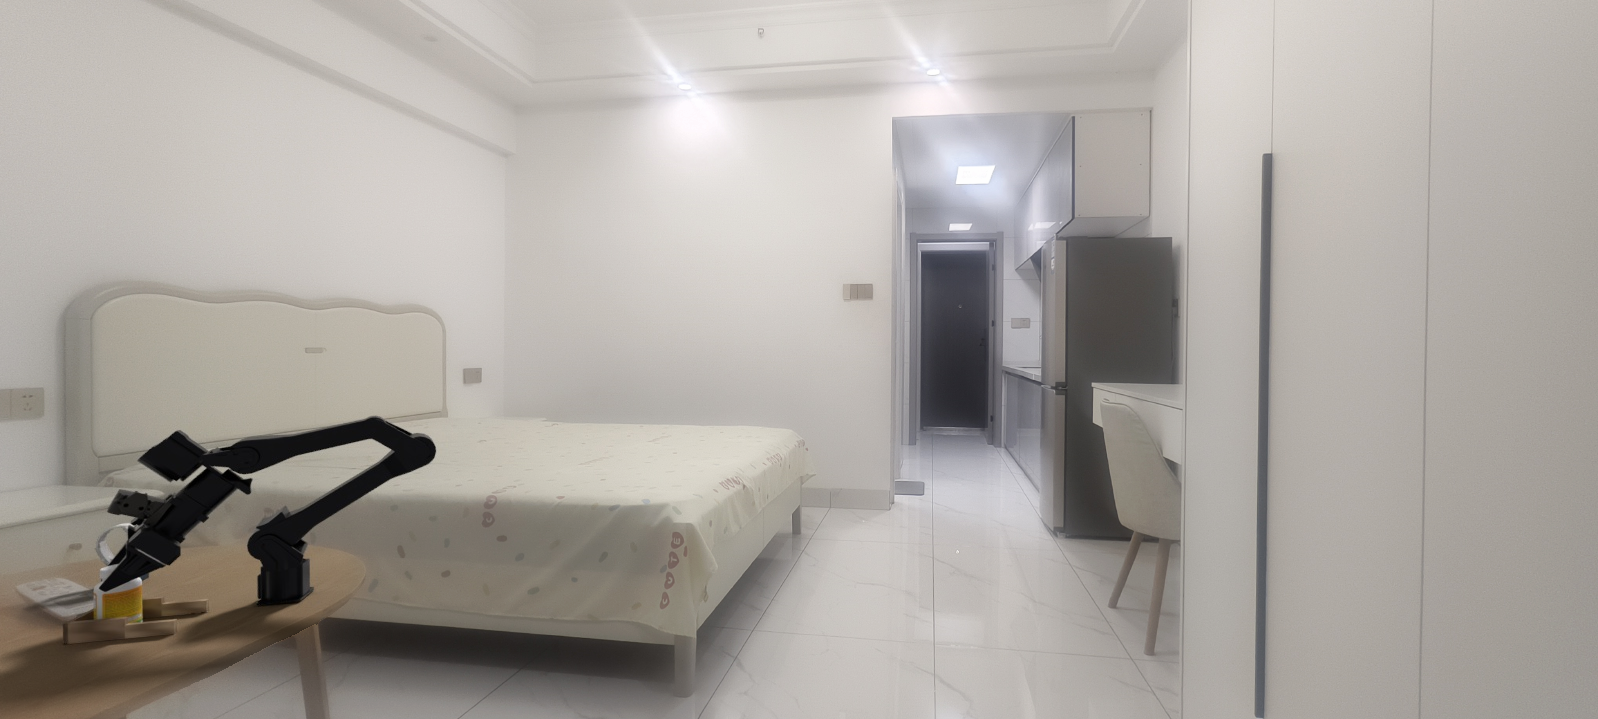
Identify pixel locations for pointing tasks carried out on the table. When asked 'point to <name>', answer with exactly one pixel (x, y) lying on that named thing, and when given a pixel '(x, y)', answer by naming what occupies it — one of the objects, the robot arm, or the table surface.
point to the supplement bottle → (118, 599)
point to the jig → (119, 628)
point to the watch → (104, 550)
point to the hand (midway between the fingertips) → (103, 582)
